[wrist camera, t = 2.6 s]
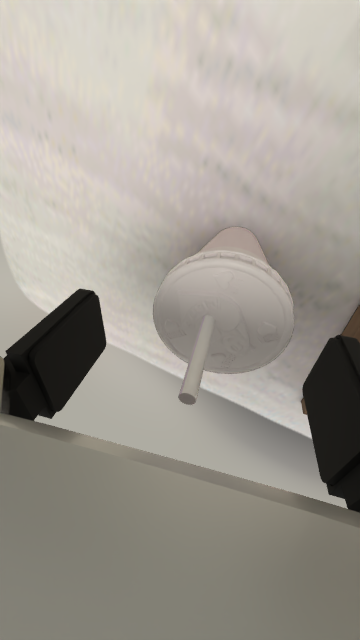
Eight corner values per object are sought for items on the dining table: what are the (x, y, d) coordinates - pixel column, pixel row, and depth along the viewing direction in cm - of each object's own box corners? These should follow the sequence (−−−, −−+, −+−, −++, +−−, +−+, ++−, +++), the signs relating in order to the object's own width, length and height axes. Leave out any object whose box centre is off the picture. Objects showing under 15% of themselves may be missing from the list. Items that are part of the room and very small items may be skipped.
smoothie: (236, 184, 16) (189, 273, 5) (298, 251, 17) (371, 437, 6) (177, 252, 20) (76, 388, 9) (232, 302, 21) (205, 475, 10)
